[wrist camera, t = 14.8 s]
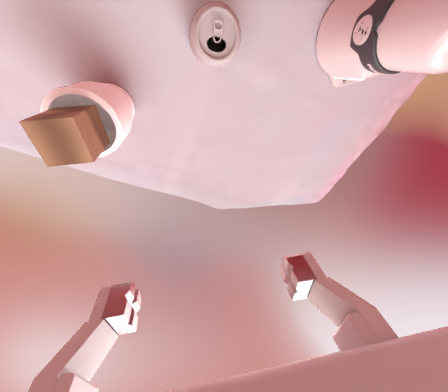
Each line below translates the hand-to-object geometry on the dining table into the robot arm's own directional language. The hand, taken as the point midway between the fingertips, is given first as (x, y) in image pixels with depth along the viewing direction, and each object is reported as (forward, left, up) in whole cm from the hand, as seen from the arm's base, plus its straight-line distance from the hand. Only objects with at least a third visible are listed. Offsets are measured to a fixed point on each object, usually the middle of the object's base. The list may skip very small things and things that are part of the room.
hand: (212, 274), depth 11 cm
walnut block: (+16, -2, -26) cm, 31 cm away
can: (-5, -12, -41) cm, 43 cm away
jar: (+16, -2, -41) cm, 44 cm away
